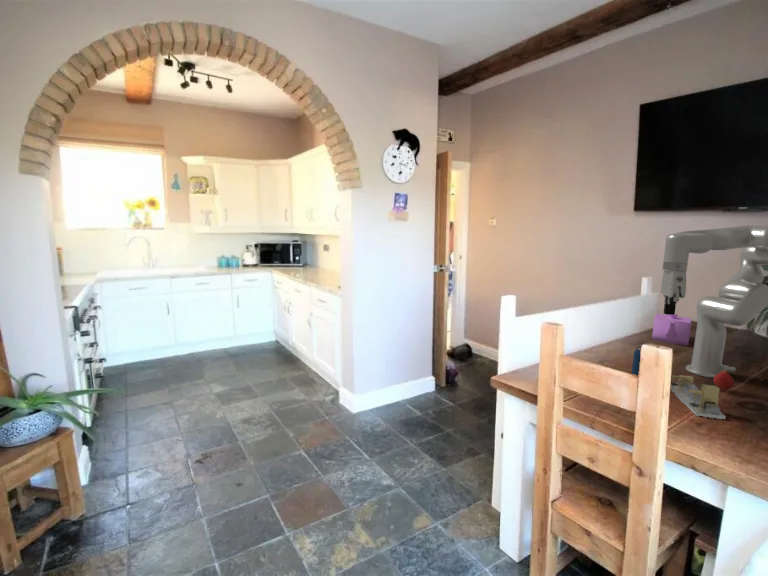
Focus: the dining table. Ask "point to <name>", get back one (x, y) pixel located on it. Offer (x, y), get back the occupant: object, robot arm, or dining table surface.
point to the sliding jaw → (707, 394)
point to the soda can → (636, 361)
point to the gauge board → (688, 398)
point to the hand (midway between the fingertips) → (668, 314)
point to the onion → (723, 380)
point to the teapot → (671, 329)
